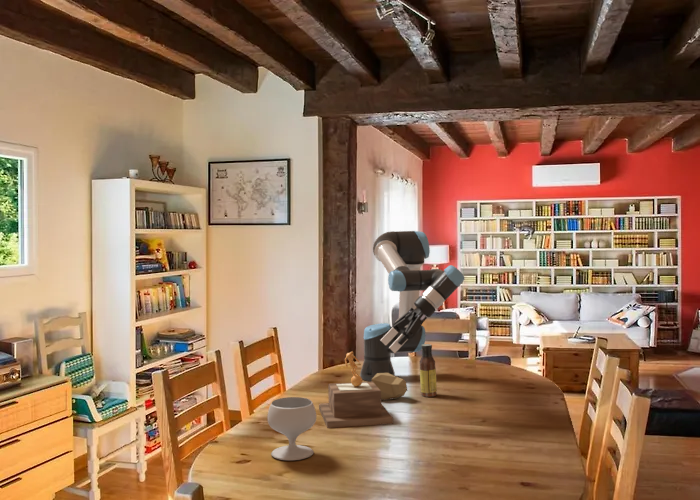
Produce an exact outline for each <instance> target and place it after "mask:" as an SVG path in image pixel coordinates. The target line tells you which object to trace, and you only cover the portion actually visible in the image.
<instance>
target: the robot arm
mask: <svg viewBox="0 0 700 500" xmlns="http://www.w3.org/2000/svg"><path fill="white" fill-rule="evenodd" d="M430 251H431V250H430V243H429V239H428V237H427V235H426V233H425V232H423V231H418V230H404V231H403V230H402V231H401V230H400V231H386V232H385V233H382V234H381V235H379V236H378V237H377V239H375V241H374V242H373V246H372V253H373V255H374V257H375V258H376V260H377V261H379V262H380V263H382V265H383V267H384V268H385V270H386V271H387V273H388V279H387V281H388V288H389V290H390V291H392V292H399V303H398V306H399V307H398V318H397V319H396V320H395V322H393V323H392V326H391V324H390V323H387V322H386V323H385V322H384V323H376V324H370V325H367V326H366V327H365V328H364V329H363V363H362V366H361V369H360V373H359V376H361V378H362V381H365V382H372V378H373V377H374V376H375V375H376V374H377V373H389V374H392V375H394V376H395V375H396V374H395V369H394V366H393V364H392V359H391V355H392V354H405V353H406V354H413V353H419V352H422V348H421V345H423V344H426V337H427V335H426V329H425V326H423V324H424V322H425V321H426V320H427V319H428V318H431V316H433V314H434V313H435V312H436V309H439V308H440V307H441V306H444V302H446V300H447V299H448V298H449V297H450V296H451V295H452V294H453V293H454V292H455V291H456V290H457V289H458V288H459V287H460V286H461V285H462V283H463V282H464V280H465V276H464V273H462V272H461V270H460V269H458V268H457V267H456V266H454V265H452V264H451V265H447V267H446V268H444V269H439V268H432V269H423V270H422V269H421V268H422V266H423V265H424V264H425V259H428V258H429V257H430V253H431V252H430ZM420 291H421V292H422V291H423V292H422V293H421V295H420Z"/></svg>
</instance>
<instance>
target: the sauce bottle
mask: <svg viewBox="0 0 700 500" xmlns="http://www.w3.org/2000/svg"><path fill="white" fill-rule="evenodd" d="M421 348H422V350H421V358H420V359H419V380H420V381H419V383H420V384H419V385H420V395H421V396H423V397H424V398H425V397H426V398H432V397H433V398H434V397H435V396H437V390H438V388H437V369H436V361H435V359H434V357H433V354H432V349H433V345H432V343H425V344H423V345H421Z"/></svg>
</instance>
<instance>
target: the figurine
mask: <svg viewBox="0 0 700 500" xmlns="http://www.w3.org/2000/svg"><path fill="white" fill-rule="evenodd" d="M354 359H355V360H356V361H357V362H358V364H361V363H360V361H359V359H358V358H357V357H356V355H354V351H350V352H347V353H346V354H345V358H344V363H345V367H346V369H348V368H349V367H350V368H351V373H352V375H353V376H352V377H351V378H350V383H352V385H353V386H355V387H358V386H360V385H361V384H362V382H363V380H362V378H361V376H360V374H358V373H357V372H356V371H357V369H358V368H359V367H358V365H357V364H356V362H355V361H354ZM348 362H349V363H348ZM348 364H349V365H348Z"/></svg>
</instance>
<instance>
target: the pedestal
mask: <svg viewBox="0 0 700 500" xmlns="http://www.w3.org/2000/svg"><path fill="white" fill-rule="evenodd" d="M327 387H328V402H325V403H324V402H321V403H318V410H319V412H320V414H321V416H322V417H321V418H322V419H323V421H324V424H325V426H326V428H327V429H328V428H343V427H345V428H348V427H359V426H360V427H361V426H375V425H377V426H378V425H390V424H392V425H393V424H394V421H393V420H394V418H393V416H392V415H391V413H390V412H389V411H388V410H387V408H386V407H385V406H384V405H383V404H382V399H381V390H380V389H379V388H378V387H377V386H376V385H375V384H374V383H373V381H362V384H361V385H360V386H358V387H355V386H353V385H352V383H351V382H340V383H339V382H336V383H328V386H327Z"/></svg>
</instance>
